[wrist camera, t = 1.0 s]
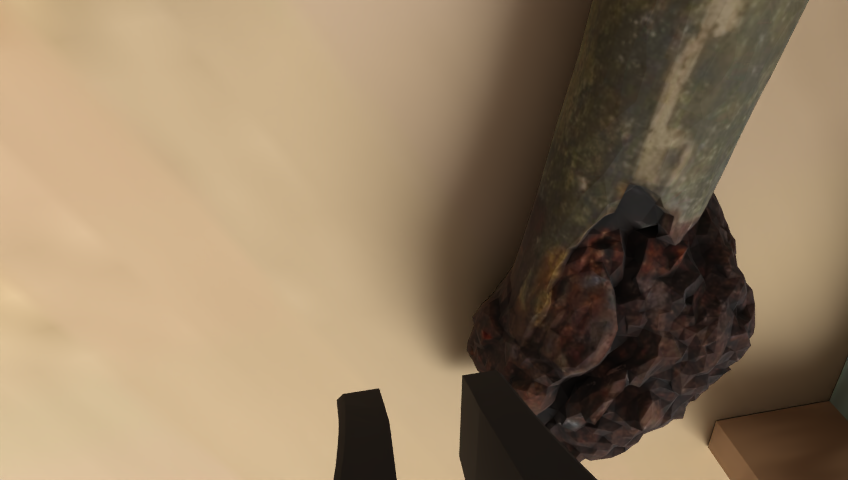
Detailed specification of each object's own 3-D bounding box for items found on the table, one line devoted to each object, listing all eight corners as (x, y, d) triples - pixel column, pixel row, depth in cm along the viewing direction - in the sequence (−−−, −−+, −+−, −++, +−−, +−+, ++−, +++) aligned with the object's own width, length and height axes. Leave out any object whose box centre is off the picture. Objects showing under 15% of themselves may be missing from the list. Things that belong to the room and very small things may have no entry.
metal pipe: (618, -247, 16) (784, -249, 11) (861, -169, 18) (1085, -142, 13) (427, 378, 24) (475, 522, 20) (605, 381, 26) (686, 512, 22)
